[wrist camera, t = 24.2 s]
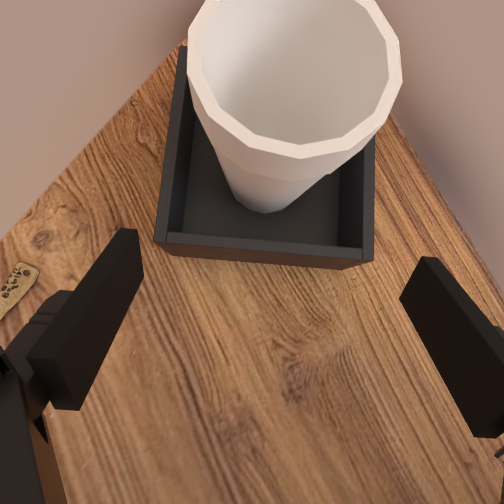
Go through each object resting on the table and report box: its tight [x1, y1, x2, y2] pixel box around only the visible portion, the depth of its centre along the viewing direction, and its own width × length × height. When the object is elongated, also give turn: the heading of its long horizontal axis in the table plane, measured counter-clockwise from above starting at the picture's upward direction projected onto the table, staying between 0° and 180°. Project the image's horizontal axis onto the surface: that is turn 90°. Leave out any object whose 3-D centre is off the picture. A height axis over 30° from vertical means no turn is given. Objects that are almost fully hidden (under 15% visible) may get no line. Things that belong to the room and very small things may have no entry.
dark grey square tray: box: [153, 45, 375, 270], centre depth 24 cm, size 15×15×6 cm
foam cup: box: [187, 0, 403, 214], centre depth 19 cm, size 10×9×13 cm
